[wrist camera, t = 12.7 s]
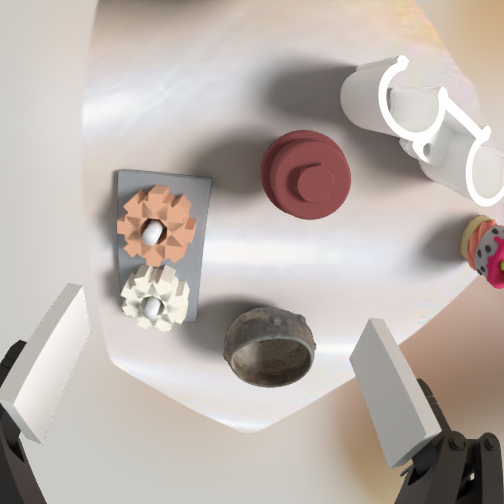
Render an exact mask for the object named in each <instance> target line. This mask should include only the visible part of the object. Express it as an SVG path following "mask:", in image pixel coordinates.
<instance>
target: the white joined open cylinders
mask: <svg viewBox="0 0 504 504" xmlns="http://www.w3.org/2000/svg"><path fill="white" fill-rule="evenodd" d="M407 64H408V59H407V58H406V57H405V56H397V57H393V58H389V59H384V60H380V61H376V62H372V63H368V64H364V65H360V66H357V67H356V72H354V73H352V74H351V75H349V76H348V77H347V78H346V79H345V81H344V83H343V85H342V87H341V91H340V102H341V106H342V109H343V111H344V113H345V115H346V116H347V118H348V119H349V120H350V121H351V122H352V123H354V124H355V125H356V126H358V127H360V128H363V129H367V130H372V131H376V132H380V133H384V134H389V135H392V136H396V137H400V141H399V143H400V145H401V146H402V148H403V149H404V150H405V151H406V152H407V153H408V154H409V155H410V156H412V157H414V158H416V159H418V160H419V164H420V166H421V169H422V170H423V172H424V173H425V175H426V176H427V177H429V178H430V179H432V180H434V181H436V182H438V183H440V184H442V185H444V186H446V187H448V188H450V189H452V190H453V191H455V192H457V193H459V194H461V195H463V196H465V197H467V198H468V199H470V200H472V201H474V202H476V203H477V204H479V205H481V206H490V205H493V204H495V203H496V202H497V201H499V200H500V199H501V197H502V196H503V195H504V152H503V151H500V150H497V149H494V148H491V147H488V146H485V145H481V144H482V143H483V142H484V141H486V140H488V138H489V136H490V133H491V129H490V127H489V126H486V125H482V124H477V123H474V122H473V121H472V120H471V119H470V118H469V117H468V116H467V115H466V114H465V113H464V112H463V111H462V110H461V109H460V108H459V107H458V106H456V105H455V104H454V103H453V102H452V101H451V100H450V99H449V98H448V97H447V91H446V89H445V88H442V87H407V88H392V90H391V92H390V98H391V106H390V110H388V107H387V102H386V91H387V86H388V83H389V81H390V80H391V78H392V77H393V76H394V75H395V74H396V73H397V72H399V71H401V70H405V68H406V66H407Z"/></svg>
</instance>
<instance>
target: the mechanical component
mask: <svg viewBox="0 0 504 504" xmlns="http://www.w3.org/2000/svg"><path fill="white" fill-rule="evenodd" d="M261 181H262V185H263V188H264V190H265V193H266V195H267V196H268V198H269V199H270V201H271V202H272V203H273V204H274V205H275V206H276V207H277V208H279V209H280V210H282V211H283V212H285V213H288V214H290V215H293V216H295V217H298V218H300V219H306V220H314V219H320V218H323V217H326V216H328V215H330V214H332V213H333V212H335V211H336V210H337V209H338V208H339V207H340V206H341V205H342V204H343V202H344V201H345V199H346V198H347V195H348V193H349V190H350V185H351V173H350V169H349V166H348V163H347V161H346V158H345V156H344V154H343V152H342V150H341V149H340V147H339V146H338V145H337V144H336V143H335V142H334V141H333V140H332V139H330V138H329V137H327V136H325V135H323V134H321V133H318V132H314V131H309V130H298V131H293V132H290V133H287V134H285V135H283V136H281V137H280V138H278V139H277V140H276V141H275V142H274V143H273V144H272V145H271V146H270V147H269V148H268V150H267V152H266V153H265V155H264V158H263V161H262V165H261Z"/></svg>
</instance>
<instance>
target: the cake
mask: <svg viewBox="0 0 504 504" xmlns="http://www.w3.org/2000/svg"><path fill="white" fill-rule="evenodd" d="M460 252H461V255H462V256H463V257H464V258H465V259H466V260H467V261H468V263H469V265H470V267H471V268H473V269H474V270H476V271H477V272H478V273H479V274H480V275H484V276H485V277H486V279H487V281H488V282H489V283H490V284H491V285H492V286H494V287H495V288H498V289H501V288H504V226H500V225H497V223H496V221H495V219H494V220H492V219H490V218H489V217H487V216H485V215H478V216H476V217H474V218H473V219H472V220H471V221H470V222H469V223H468V224H467V226H466V227H465V229H464V231H463V233H462V236H461V240H460Z"/></svg>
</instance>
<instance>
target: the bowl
mask: <svg viewBox="0 0 504 504" xmlns="http://www.w3.org/2000/svg"><path fill="white" fill-rule="evenodd" d="M315 350H316V343H315V342H314V340H313V335H312V332H311V330H310V328H309V327H308V325H307V324H306V319H305V317H304V316H302V315H297V314H293V313H291V312H289V311H286V310H282V309H278V308H273V307H262V308H255V309H252V310H250V311H248V312H246V313H243V314H242V315H240V316H239V317H237V318H236V319H235V320H234V322H233V323H232V324H231V326H230V327H229V329H228V331H227V333H226V336H225V341H224V354H223V356H224V359H225V360H226V361H227V362H228V364H229V366H230V367H231V369H232V370H233V372H234V373H235V374H236V375H237V376H238V377H239V378H240V379H241V380H243V381H245V382H246V383H249V384H251V385H255V386H259V387H267V388H273V387H282V386H286V385H289V384H292V383H294V382H296V381H298V380H300V379H301V378H302V377H303V376H305V375H306V374H307V372H308V371H309V370H310V368H311V366H312V363H313V360H314V351H315Z"/></svg>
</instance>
